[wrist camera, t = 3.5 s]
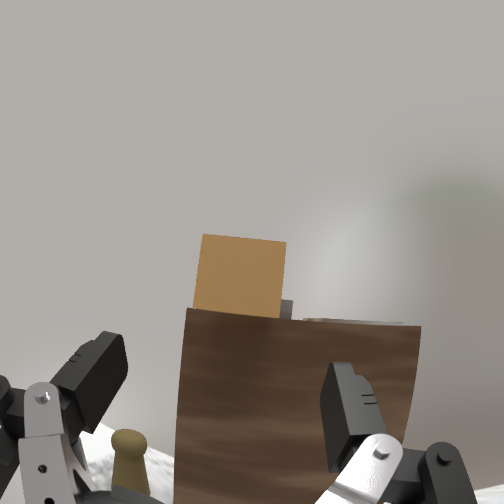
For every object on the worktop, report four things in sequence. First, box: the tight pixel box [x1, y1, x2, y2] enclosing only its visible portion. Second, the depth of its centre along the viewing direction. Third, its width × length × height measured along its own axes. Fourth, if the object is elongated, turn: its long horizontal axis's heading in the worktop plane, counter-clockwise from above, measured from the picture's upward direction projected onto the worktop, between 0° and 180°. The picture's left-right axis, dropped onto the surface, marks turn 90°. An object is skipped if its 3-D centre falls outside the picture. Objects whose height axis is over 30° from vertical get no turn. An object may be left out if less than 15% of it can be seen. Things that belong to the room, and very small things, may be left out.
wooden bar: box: [193, 234, 286, 318], centre depth 26 cm, size 22×4×4 cm, turn 179°
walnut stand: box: [173, 299, 421, 504], centre depth 26 cm, size 12×20×32 cm, turn 89°
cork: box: [111, 429, 150, 496], centre depth 31 cm, size 6×6×11 cm
